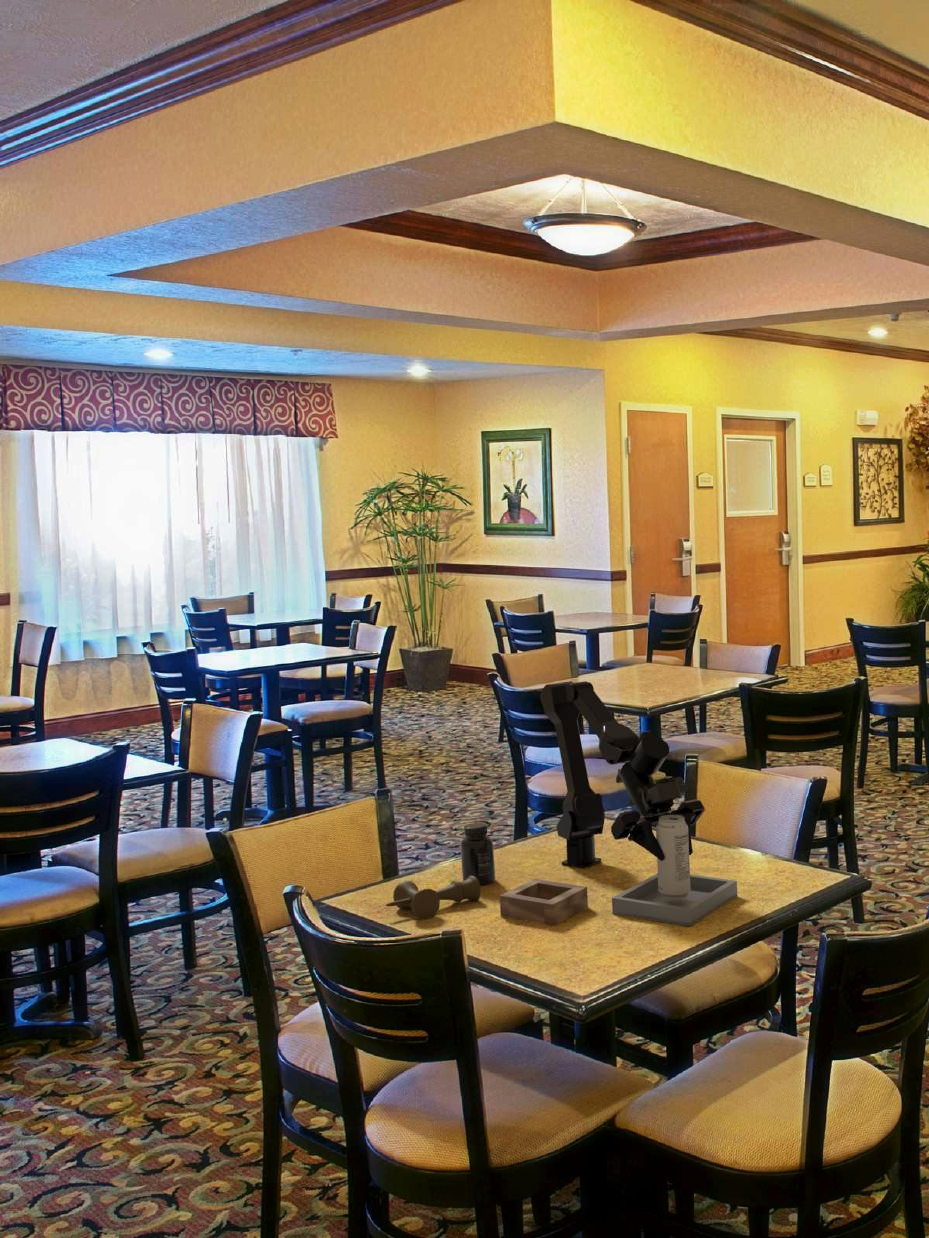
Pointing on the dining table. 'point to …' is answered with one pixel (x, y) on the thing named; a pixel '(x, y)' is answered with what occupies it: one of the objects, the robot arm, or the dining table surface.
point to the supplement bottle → (477, 854)
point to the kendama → (433, 896)
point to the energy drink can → (673, 857)
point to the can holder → (544, 901)
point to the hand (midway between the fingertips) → (677, 856)
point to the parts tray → (675, 900)
